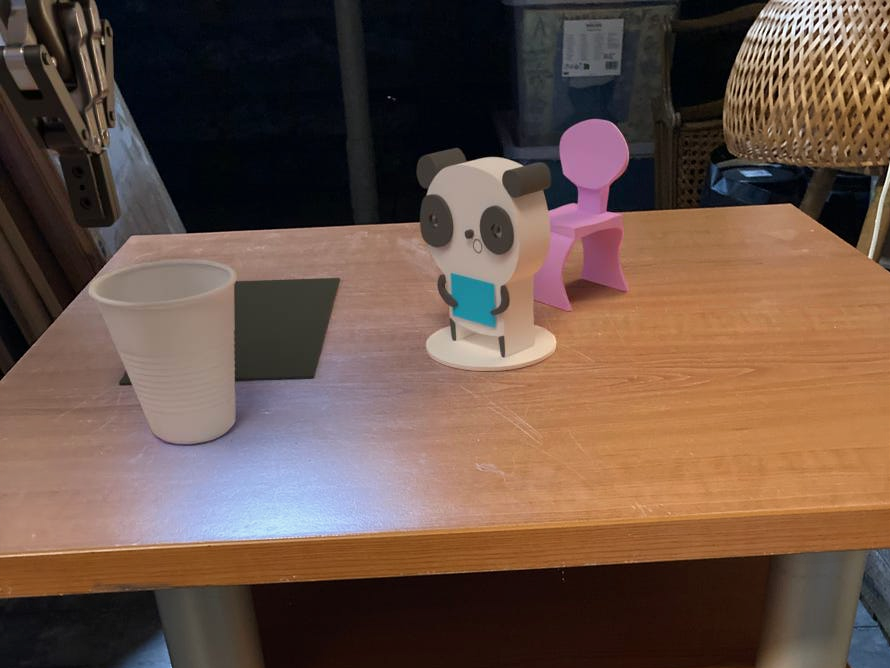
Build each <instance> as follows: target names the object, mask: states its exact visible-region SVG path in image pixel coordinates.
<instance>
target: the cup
mask: <svg viewBox="0 0 890 668" xmlns="http://www.w3.org/2000/svg"><path fill="white" fill-rule="evenodd" d="M237 279H238V273H237V271H236V270H235V269H234V268H233V267H232V266H230V265H227V264H225V263H222V262H219V261H214V260H209V259H199V258H197V259H196V258H174V259H172V258H171V259H161V260H154V261H146V262H139V263H135V264H131V265H126V266H123V267H119V268H117V269H114V270H111V271H108V272H106V273H104V274H102V275H100V276H98V277H97V278H95V279H94V280H92V282H91V283H90V285H89V286H88V291H87V292H88V294H89V296H90V298H91V299H93V300H94V301H95V303H96V305H97V308H98V310H99V312H100V314H101V316H102V319H103V321H104V324H105V326H106V329H107V331H108V332H109V333H108V334H109V335H110V338H111V341H112V342H113V344H114V347H115V348H116V351H117V353H118V356H119V357H120V360H121V362H122V365H123V366H124V369H125V372H127V374H128V376H129V378H130V381H131V383H132V384H131V386H132V388H133V390H134V392H135V395H136V397H137V399H138V402H139V404H140V406H141V410H142V412H143V414H144V416H145V419H146V421H147V423H148V426H149V428H150V430H151V432H152V434H153V435H154V436H156V437H157V438H159V439H161V440H162V441H164V442H166V443H169V444H174V445H195V444H202V443H206V442H210V441H213V440H215V439H218V438H220V437H222V436H223V435H225V434H226V433H228V432H229V431H230V429H231V428H232V427H233V426H234V424H235V422H236V392H235V390H236V386H235V385H236V381H235V379H234V377H235V373H234V371H235V367H234V364H235V361H234V357H235V355H234V351H235V349H234V344H235V342H234V337H235V336H234V330H235V318H234V284H235V282H236V281H238V280H237Z"/></svg>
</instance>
